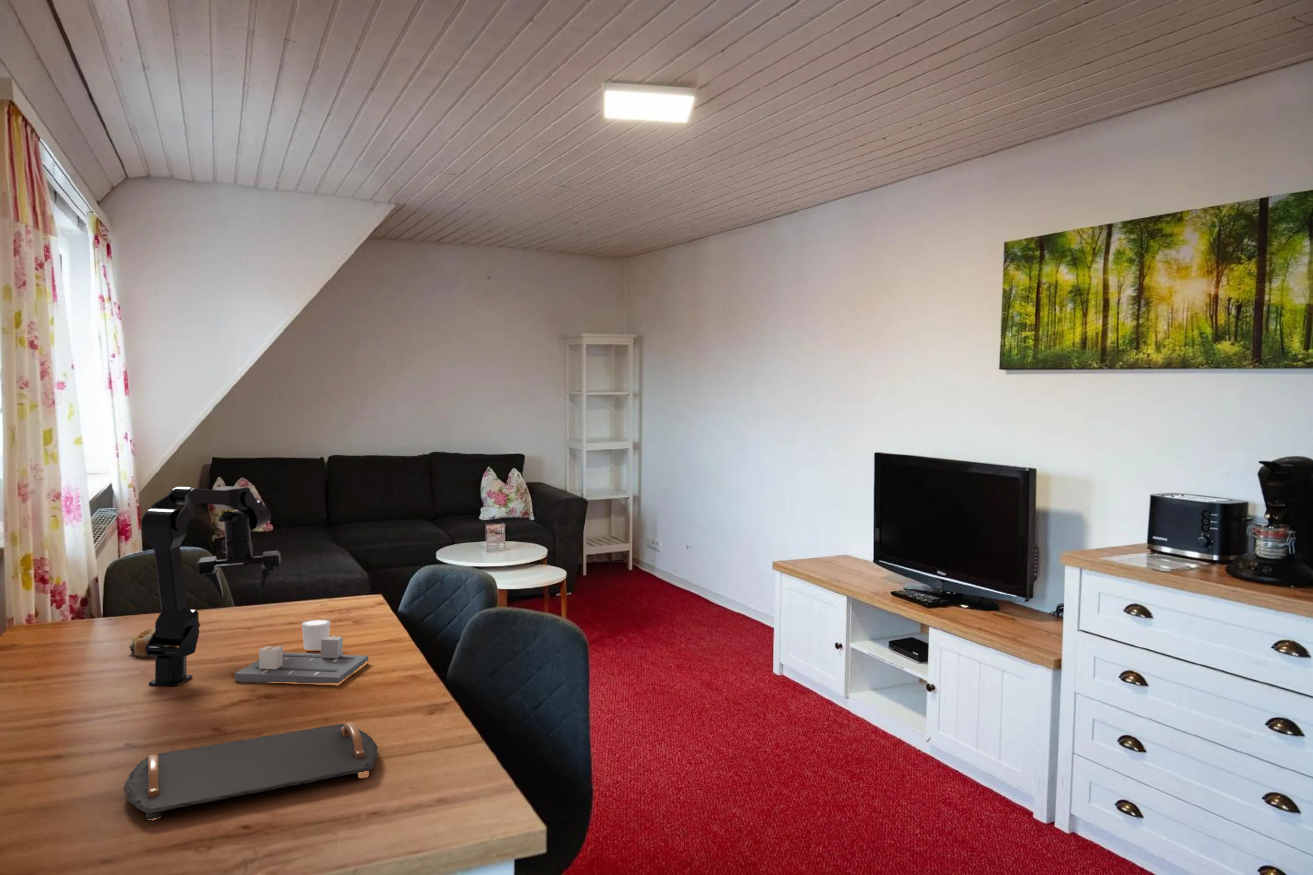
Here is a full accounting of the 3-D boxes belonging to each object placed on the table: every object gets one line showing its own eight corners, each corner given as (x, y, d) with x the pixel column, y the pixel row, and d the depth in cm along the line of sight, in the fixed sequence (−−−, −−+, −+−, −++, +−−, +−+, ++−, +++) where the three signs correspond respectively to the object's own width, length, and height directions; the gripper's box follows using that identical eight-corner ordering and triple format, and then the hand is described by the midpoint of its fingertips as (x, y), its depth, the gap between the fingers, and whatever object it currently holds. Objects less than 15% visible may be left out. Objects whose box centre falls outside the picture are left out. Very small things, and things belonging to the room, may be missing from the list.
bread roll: (153, 672, 206) (167, 644, 205) (116, 654, 206) (130, 625, 205) (177, 660, 216) (191, 633, 215) (142, 642, 216) (155, 615, 215)
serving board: (360, 734, 163) (361, 702, 163) (390, 780, 143) (391, 744, 143) (125, 774, 143) (125, 739, 142) (122, 835, 123) (122, 793, 123)
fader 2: (337, 658, 202) (337, 639, 202) (321, 657, 202) (321, 639, 202) (342, 654, 205) (342, 636, 205) (326, 654, 205) (326, 635, 205)
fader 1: (275, 669, 192) (276, 649, 192) (259, 668, 192) (259, 649, 192) (282, 665, 195) (282, 646, 195) (265, 664, 195) (265, 645, 195)
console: (338, 686, 189) (338, 676, 188) (234, 681, 190) (234, 672, 190) (368, 663, 205) (368, 655, 205) (272, 659, 207) (272, 651, 207)
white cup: (334, 645, 220) (335, 619, 220) (321, 653, 213) (322, 626, 213) (310, 644, 221) (310, 618, 220) (296, 651, 214) (296, 624, 214)
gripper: (279, 524, 222) (283, 580, 225) (200, 530, 215) (204, 588, 218) (277, 534, 212) (281, 593, 215) (194, 542, 205) (199, 602, 208)
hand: (242, 594), depth 214 cm, fingers open, 9 cm apart
